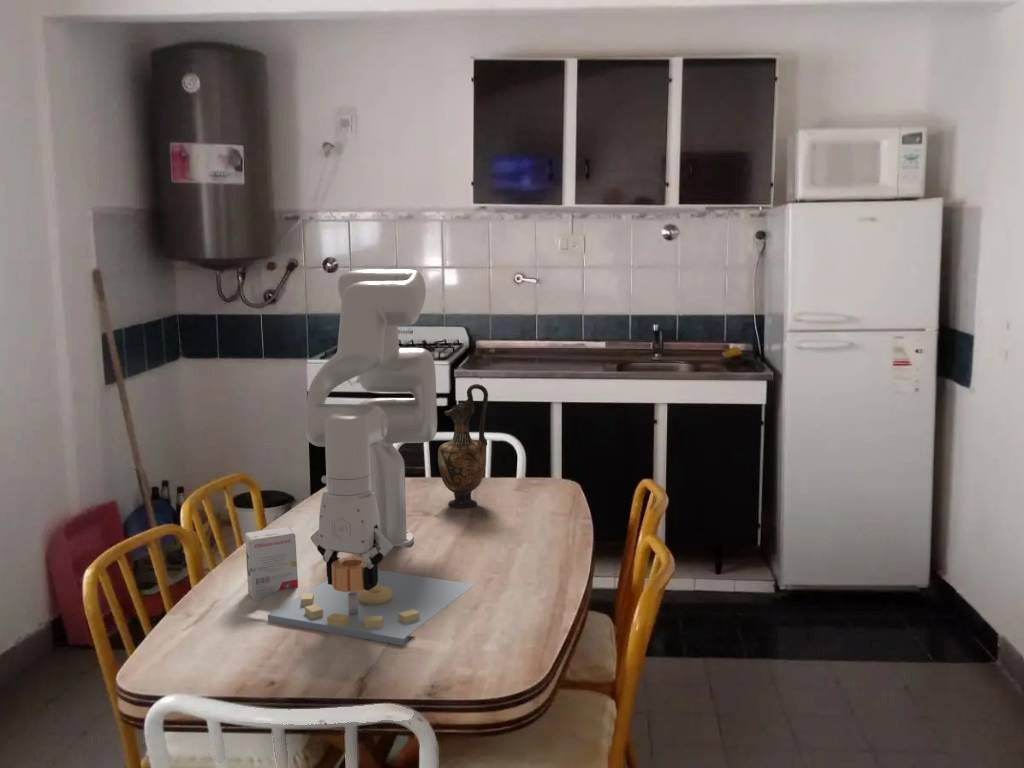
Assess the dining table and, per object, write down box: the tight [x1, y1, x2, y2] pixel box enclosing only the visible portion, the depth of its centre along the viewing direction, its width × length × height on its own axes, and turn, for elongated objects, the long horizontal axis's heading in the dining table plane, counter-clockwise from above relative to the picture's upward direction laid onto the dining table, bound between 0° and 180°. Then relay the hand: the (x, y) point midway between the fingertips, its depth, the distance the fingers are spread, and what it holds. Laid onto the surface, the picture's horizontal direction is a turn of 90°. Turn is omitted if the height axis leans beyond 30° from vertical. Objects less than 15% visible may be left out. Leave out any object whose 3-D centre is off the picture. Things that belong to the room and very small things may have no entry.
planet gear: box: [331, 556, 367, 592], centre depth 174 cm, size 7×7×4 cm
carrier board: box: [267, 569, 475, 647], centre depth 181 cm, size 27×27×5 cm
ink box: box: [244, 526, 299, 601], centre depth 187 cm, size 9×5×12 cm, turn 116°
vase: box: [437, 383, 489, 509], centre depth 243 cm, size 12×12×30 cm
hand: (352, 584), depth 174 cm, fingers closed on planet gear, 6 cm apart
